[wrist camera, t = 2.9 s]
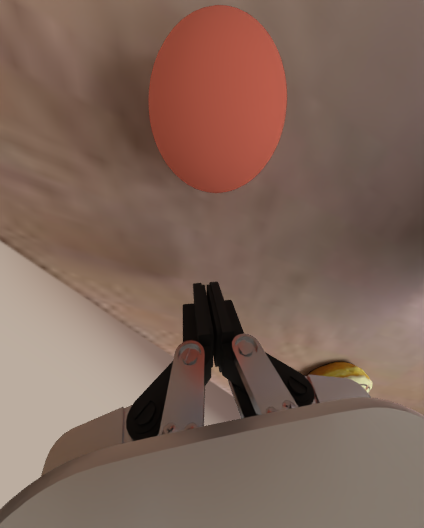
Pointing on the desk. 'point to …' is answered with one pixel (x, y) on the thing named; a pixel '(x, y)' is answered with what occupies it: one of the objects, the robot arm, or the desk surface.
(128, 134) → the desk surface
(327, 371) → the decorated donut
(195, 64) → the ball
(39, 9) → the desk surface
